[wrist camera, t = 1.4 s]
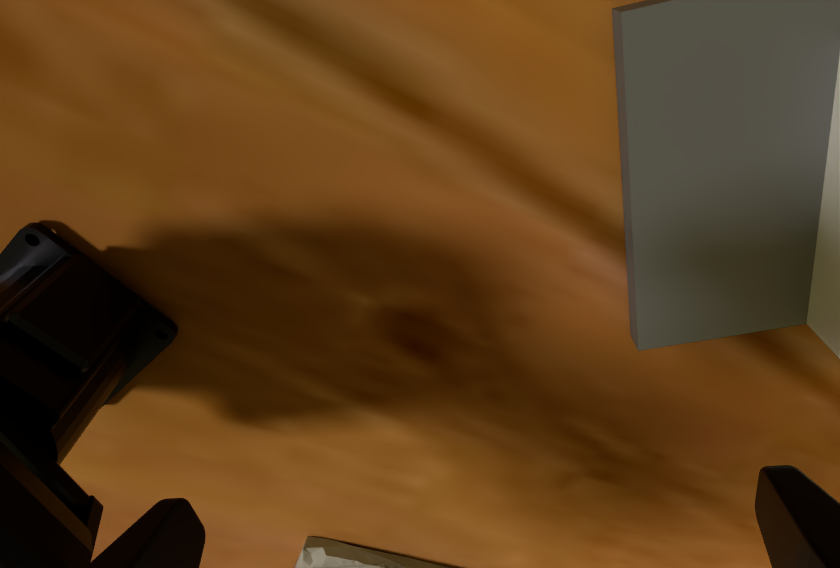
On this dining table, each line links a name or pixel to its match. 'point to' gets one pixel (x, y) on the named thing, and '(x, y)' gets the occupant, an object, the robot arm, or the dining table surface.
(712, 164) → the switch panel
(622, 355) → the dining table surface
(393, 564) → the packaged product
